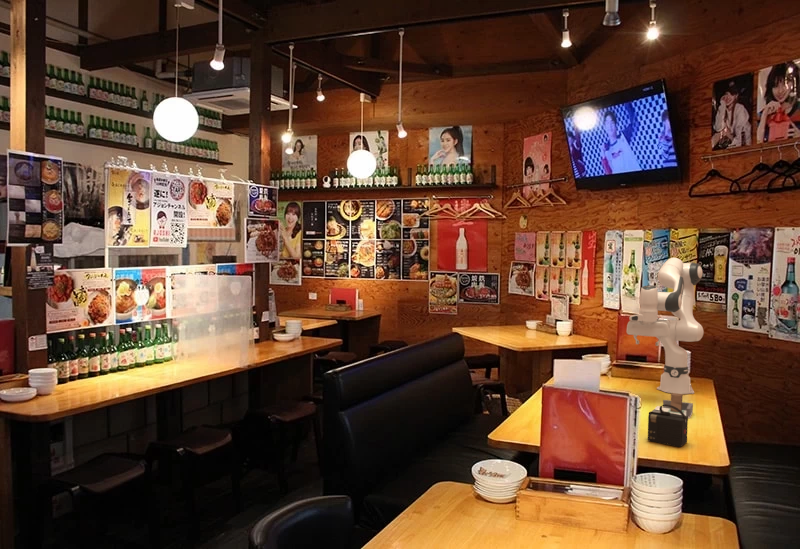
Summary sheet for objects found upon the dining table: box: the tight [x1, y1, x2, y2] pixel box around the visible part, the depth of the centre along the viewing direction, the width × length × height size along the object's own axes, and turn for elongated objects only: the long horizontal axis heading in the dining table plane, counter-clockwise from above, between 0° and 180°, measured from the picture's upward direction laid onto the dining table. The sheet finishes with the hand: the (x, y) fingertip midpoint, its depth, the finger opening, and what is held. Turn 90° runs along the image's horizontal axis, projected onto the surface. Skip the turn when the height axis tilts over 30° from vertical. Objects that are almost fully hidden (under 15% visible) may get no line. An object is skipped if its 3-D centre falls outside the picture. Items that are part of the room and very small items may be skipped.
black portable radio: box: [647, 404, 689, 448], centre depth 258 cm, size 11×14×15 cm
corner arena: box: [654, 399, 694, 420], centre depth 303 cm, size 12×16×4 cm
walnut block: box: [670, 393, 684, 412], centre depth 302 cm, size 4×4×8 cm
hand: (647, 344), depth 324 cm, fingers open, 8 cm apart
